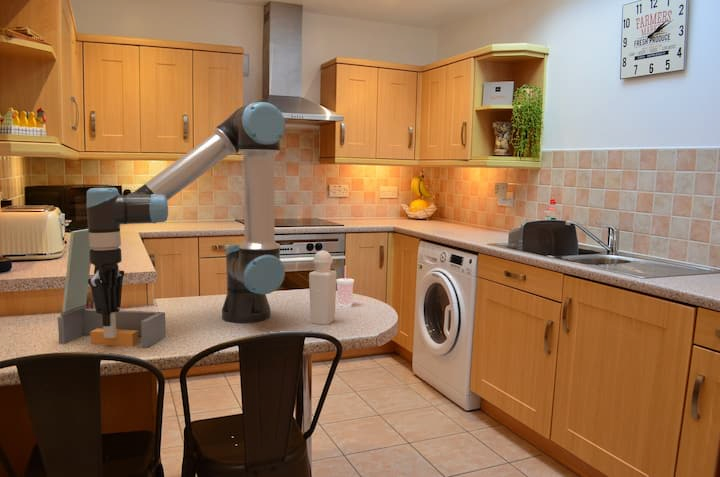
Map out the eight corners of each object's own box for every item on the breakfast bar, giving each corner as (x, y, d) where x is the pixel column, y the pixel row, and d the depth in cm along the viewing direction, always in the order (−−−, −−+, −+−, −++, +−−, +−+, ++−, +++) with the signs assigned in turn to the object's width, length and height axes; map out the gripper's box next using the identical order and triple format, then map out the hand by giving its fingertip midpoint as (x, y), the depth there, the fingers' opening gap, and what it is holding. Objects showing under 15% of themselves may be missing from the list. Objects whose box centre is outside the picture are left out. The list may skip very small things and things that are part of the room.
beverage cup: (338, 303, 204) (338, 263, 203) (355, 304, 203) (355, 264, 201) (334, 307, 198) (334, 266, 197) (352, 308, 197) (352, 267, 195)
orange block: (139, 343, 157) (138, 330, 157) (132, 347, 154) (132, 333, 154) (98, 341, 159) (97, 328, 159) (91, 344, 156) (90, 331, 156)
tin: (101, 308, 196) (100, 283, 195) (111, 308, 196) (110, 283, 195) (84, 319, 181) (82, 293, 180) (94, 319, 181) (93, 292, 180)
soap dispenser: (308, 323, 178) (308, 251, 175) (317, 318, 184) (317, 248, 181) (328, 325, 175) (328, 252, 173) (336, 320, 181) (336, 249, 179)
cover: (95, 228, 161) (91, 227, 161) (74, 232, 152) (69, 231, 152) (86, 309, 165) (81, 308, 165) (65, 317, 156) (60, 316, 156)
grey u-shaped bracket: (165, 336, 163) (165, 312, 162) (147, 347, 153) (146, 321, 152) (82, 332, 166) (80, 308, 166) (59, 343, 157) (57, 317, 156)
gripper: (106, 244, 158) (111, 329, 161) (76, 251, 145) (81, 343, 148) (132, 244, 157) (136, 330, 160) (104, 251, 144) (109, 345, 147)
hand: (110, 337), depth 154 cm, fingers closed
